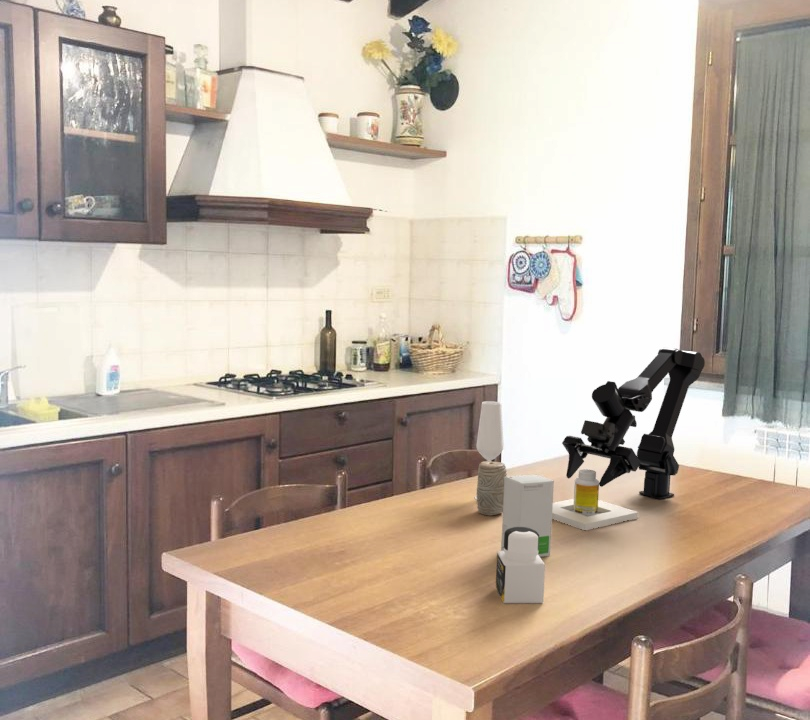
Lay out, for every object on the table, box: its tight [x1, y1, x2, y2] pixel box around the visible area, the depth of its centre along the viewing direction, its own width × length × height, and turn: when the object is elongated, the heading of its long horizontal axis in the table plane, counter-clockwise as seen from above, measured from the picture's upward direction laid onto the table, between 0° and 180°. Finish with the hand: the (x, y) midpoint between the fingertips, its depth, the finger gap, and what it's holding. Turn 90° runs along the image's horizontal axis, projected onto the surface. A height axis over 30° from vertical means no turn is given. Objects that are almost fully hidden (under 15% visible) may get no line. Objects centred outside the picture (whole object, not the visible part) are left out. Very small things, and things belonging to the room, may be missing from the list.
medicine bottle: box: [495, 527, 546, 604], centre depth 154 cm, size 7×7×12 cm
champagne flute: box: [474, 400, 504, 500], centre depth 216 cm, size 7×7×24 cm
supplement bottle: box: [573, 468, 600, 517], centre depth 205 cm, size 6×6×10 cm
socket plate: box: [552, 498, 639, 531], centre depth 205 cm, size 18×16×2 cm
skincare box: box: [500, 474, 555, 558], centre depth 177 cm, size 8×7×16 cm
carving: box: [476, 460, 508, 516], centre depth 204 cm, size 6×8×12 cm
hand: (583, 481), depth 203 cm, fingers open, 9 cm apart
